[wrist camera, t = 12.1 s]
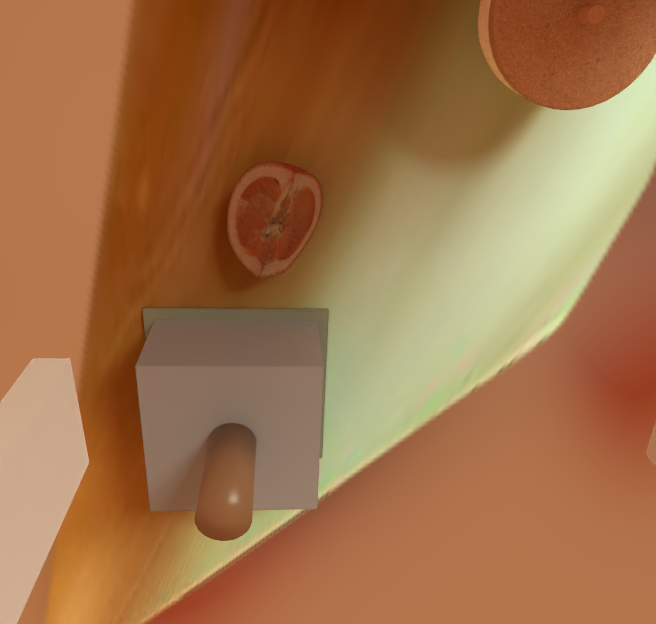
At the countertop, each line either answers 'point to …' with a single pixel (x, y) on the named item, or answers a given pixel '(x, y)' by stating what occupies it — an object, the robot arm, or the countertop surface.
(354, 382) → the countertop surface
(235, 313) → the mat
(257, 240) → the fruit slice
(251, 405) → the cover
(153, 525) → the countertop surface
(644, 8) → the lidded jar
